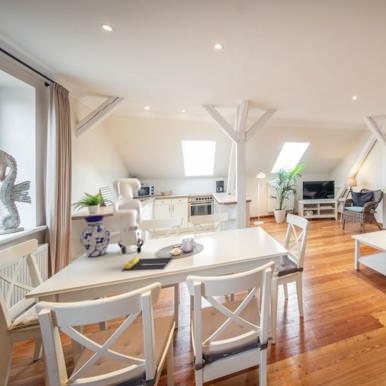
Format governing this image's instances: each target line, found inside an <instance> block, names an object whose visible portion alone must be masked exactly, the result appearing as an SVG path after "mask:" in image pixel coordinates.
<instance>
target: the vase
mask: <svg viewBox="0 0 386 386" xmlns="http://www.w3.org/2000/svg"><path fill="white" fill-rule="evenodd" d="M104 218H105V216H104V215H90V216H85V217H84V218H83V219H84V220H85V222H86V224H87V225H86V228H85V229H84V230H83V231H82V232H81V233H80V235H79V242H80V244H81V246H82V248H83V249H84V251H85V253H86V255H87V257H89V258H96V257H97V258H98V257H101V256H103V255H104V256H105V254H106V253H107V249H108V247H109V243H110V241H111V237H112V236H111V231H110V229H108V228H106V227H105V226H104V225H103V223H102V222H103V219H104Z"/></svg>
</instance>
